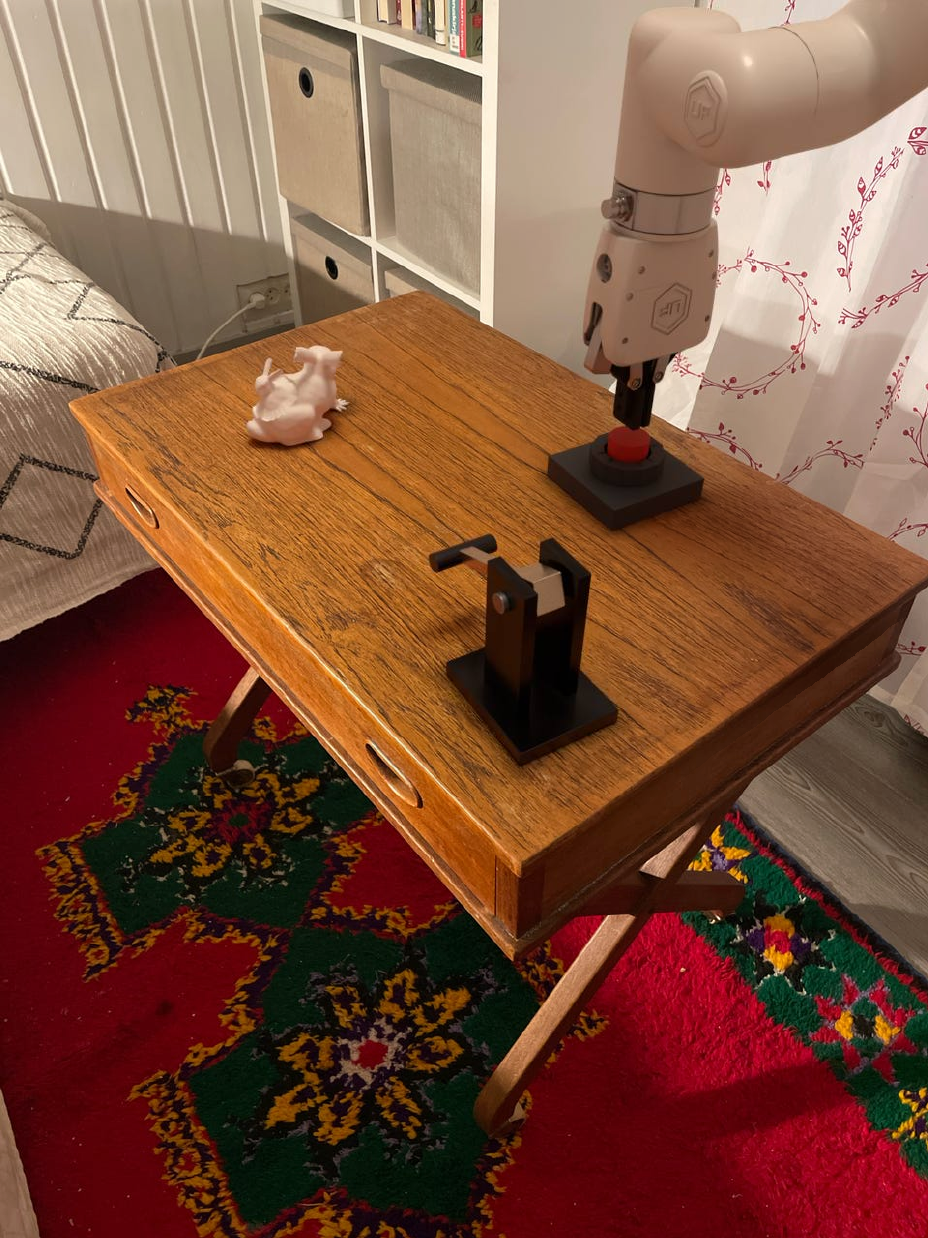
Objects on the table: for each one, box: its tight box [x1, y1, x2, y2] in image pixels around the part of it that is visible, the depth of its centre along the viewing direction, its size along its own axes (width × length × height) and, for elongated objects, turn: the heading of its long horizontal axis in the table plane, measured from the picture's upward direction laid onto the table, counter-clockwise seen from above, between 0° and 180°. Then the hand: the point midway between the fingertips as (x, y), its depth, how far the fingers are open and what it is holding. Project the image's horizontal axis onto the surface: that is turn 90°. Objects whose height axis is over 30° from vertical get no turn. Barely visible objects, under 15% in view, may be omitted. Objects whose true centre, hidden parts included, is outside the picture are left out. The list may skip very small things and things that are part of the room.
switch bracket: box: [445, 537, 619, 766], centre depth 65 cm, size 10×8×12 cm
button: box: [607, 425, 651, 462], centre depth 86 cm, size 4×4×2 cm
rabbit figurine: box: [246, 345, 350, 446], centre depth 92 cm, size 12×8×10 cm, turn 125°
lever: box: [428, 533, 565, 617], centre depth 66 cm, size 12×5×2 cm, turn 30°
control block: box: [546, 431, 705, 532], centre depth 87 cm, size 10×10×4 cm
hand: (630, 421), depth 84 cm, fingers closed
